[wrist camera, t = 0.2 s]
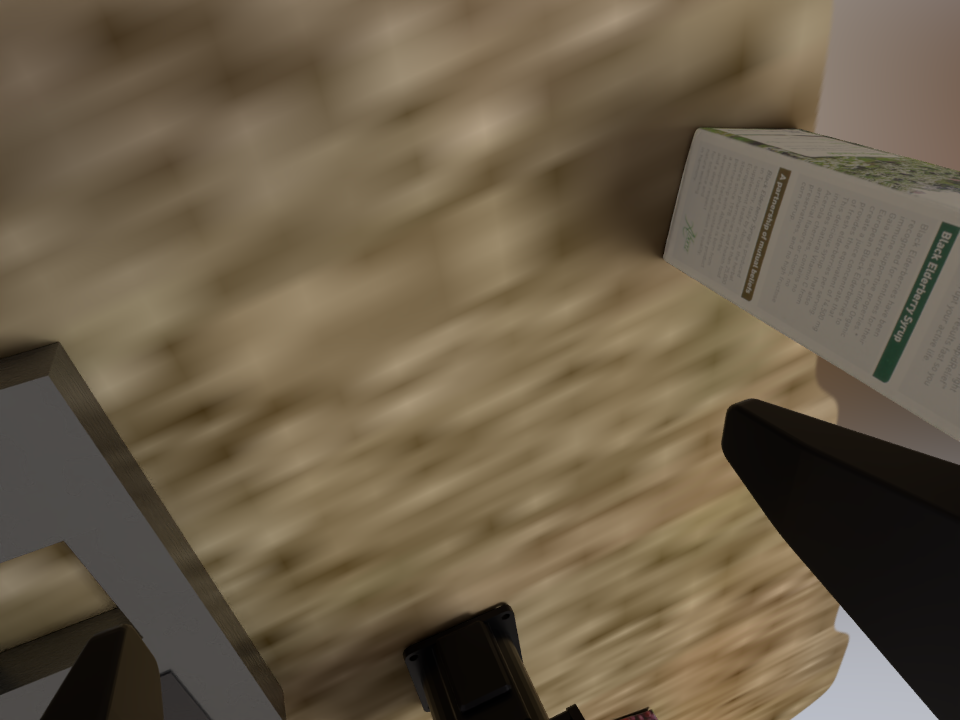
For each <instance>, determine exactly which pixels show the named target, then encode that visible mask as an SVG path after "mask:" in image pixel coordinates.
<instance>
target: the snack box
mask: <svg viewBox="0 0 960 720" xmlns="http://www.w3.org/2000/svg"><path fill="white" fill-rule="evenodd" d="M620 720H658V719H657V717H656V716H655V714H654V712H653V710H652V709H651V710H649V711H646V712H643V713H639V714H636V715H632V716H629V717H626V718H623V719H620Z"/></svg>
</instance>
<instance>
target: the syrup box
mask: <svg viewBox="0 0 960 720" xmlns="http://www.w3.org/2000/svg"><path fill="white" fill-rule="evenodd" d="M663 259H664V260H665V261H666V262H667V263H669V264H671V265H672V266H674V267H676V268H677V269H679V270H680V271H682V272H684V273H685V274H687V275H688V276H690V277H692V278H693V279H695V280H697V281H698V282H700V283H701V284H703V285H705V286H706V287H708V288H709V289H711V290H712V291H714V292H716V293H717V294H719V295H720V296H722V297H724V298H725V299H727V300H729V301H730V302H732V303H733V304H735V305H737V306H739V307H740V308H742V309H743V310H745V311H746V312H748V313H750V314H751V315H753V316H754V317H756V318H758V319H759V320H761V321H763V322H764V323H766V324H768V325H769V326H771V327H773V328H774V329H776V330H777V331H779V332H781V333H782V334H784V335H786V336H787V337H789V338H791V339H792V340H794V341H796V342H797V343H799V344H800V345H802V346H804V347H805V348H807V349H809V350H810V351H812V352H814V353H815V354H817V355H819V356H820V357H822V358H823V359H825V360H827V361H828V362H830V363H832V364H833V365H835V366H837V367H838V368H840V369H842V370H844V371H845V372H847V373H848V374H850V375H852V376H853V377H855V378H856V379H858V380H860V381H861V382H863V383H865V384H866V385H868V386H869V387H871V388H873V389H874V390H876V391H877V392H879V393H881V394H882V395H884V396H885V397H887V398H889V399H891V400H892V401H894V402H895V403H897V404H899V405H900V406H902V407H904V408H905V409H907V410H909V411H910V412H912V413H913V414H915V415H917V416H918V417H920V418H921V419H923V420H925V421H926V422H928V423H930V424H931V425H933V426H934V427H936V428H938V429H939V430H941V431H942V432H944V433H946V434H948V435H949V436H951V437H952V438H954V439H956V440H957V441H959V442H960V171H956V170H952V169H949V168H945V167H941V166H938V165H934V164H930V163H927V162H923V161H919V160H916V159H911V158H907V157H903V156H900V155H896V154H893V153H889V152H885V151H881V150H877V149H874V148H870V147H867V146H863V145H859V144H856V143H851V142H847V141H843V140H839V139H836V138H832V137H828V136H824V135H820V134H816V133H812V132H809V131H805V130H802V129H746V128H702V127H701V128H698V129H697V130H696V131H695V134H694V137H693V140H692V143H691V147H690V150H689V154H688V157H687V161H686V164H685V168H684V172H683V176H682V179H681V184H680V188H679V192H678V195H677V200H676V204H675V208H674V213H673V217H672V221H671V225H670V230H669V234H668V238H667V242H666V246H665V251H664V255H663Z"/></svg>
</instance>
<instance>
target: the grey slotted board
mask: <svg viewBox="0 0 960 720" xmlns="http://www.w3.org/2000/svg"><path fill="white" fill-rule="evenodd" d="M61 541H65V543H66V544H67V545H68V546H69V547H70V549H71V550H72V551H73V552H74V554H75V555H76V556H77V557H78V558H79V560H80V561H81V562H82V563H83V564H84V566H85V567H86V568H87V569H88V571H89V572H90V573H91V574H92V575H93V577H94V578H95V579H96V580H97V582H98V583H99V584H100V585H101V586H102V588H103V589H104V590H105V591H106V593H107V594H108V595H109V596H110V597H111V599H112V600H113V601H114V602H115V603H116V605H117V606H118V607H119V608H117V609H114V610H111V611H109V612H106V613H104V614H101V615H98V616H96V617H93V618H91V619H88V620H86V621H83V622H80V623H78V624H75V625H73V626H70V627H67V628H65V629H62V630H60V631H57V632H54V633H52V634H49V635H47V636H44V637H41V638H39V639H36V640H34V641H31V642H29V643H26V644H23V645H21V646H18V647H16V648H13V649H10V650H8V651H5V652H3V653H0V720H40V718H41V716H42V715H43V713H44V712H45V710H46V708H47V707H48V705H49V703H50V702H51V700H52V699H53V697H54V695H55V694H56V692H57V690H58V689H59V687H60V686H61V684H62V682H63V681H64V679H65V677H66V676H67V674H68V673H69V671H70V669H71V668H72V666H73V664H74V663H75V661H76V659H77V658H78V656H79V655H80V653H81V651H82V650H83V648H84V646H85V645H86V643H87V642H88V640H89V639H90V638H91V637H92V636H94V635H95V634H97V633H99V632H102V631H105V630H107V629H110V628H113V627H116V626H119V625H121V624H129V625H131V626H132V627H133V628H134V629H135V630H136V632H137V633H138V635H139V636H140V637H141V639H142V640H143V642H144V643H145V644H146V646H147V647H148V649H149V650H150V652H151V653H152V654H153V656H154V657H155V659H156V662H157V665H158V668H159V673H160V681H161V692H162V703H163V714H164V720H286V713H285V705H284V697H283V690H282V688H281V687H280V685H279V684H278V682H277V681H276V679H275V678H274V676H273V674H272V673H271V671H270V670H269V668H268V667H267V665H266V664H265V662H264V660H263V659H262V657H261V656H260V654H259V653H258V651H257V650H256V648H255V646H254V645H253V643H252V642H251V640H250V639H249V637H248V635H247V634H246V632H245V631H244V629H243V628H242V626H241V625H240V623H239V621H238V620H237V618H236V617H235V615H234V614H233V612H232V611H231V609H230V607H229V606H228V604H227V603H226V601H225V600H224V598H223V597H222V595H221V593H220V592H219V590H218V589H217V587H216V586H215V584H214V582H213V581H212V579H211V578H210V576H209V575H208V573H207V572H206V570H205V568H204V567H203V565H202V564H201V562H200V561H199V559H198V558H197V556H196V554H195V553H194V551H193V550H192V548H191V547H190V545H189V544H188V542H187V540H186V539H185V537H184V536H183V534H182V533H181V531H180V529H179V528H178V526H177V525H176V523H175V522H174V520H173V519H172V517H171V515H170V514H169V512H168V511H167V509H166V508H165V506H164V505H163V503H162V501H161V500H160V498H159V497H158V495H157V494H156V492H155V491H154V489H153V487H152V486H151V484H150V483H149V481H148V480H147V478H146V476H145V475H144V473H143V472H142V470H141V469H140V467H139V466H138V464H137V462H136V461H135V459H134V458H133V456H132V455H131V453H130V452H129V450H128V448H127V447H126V445H125V444H124V442H123V441H122V439H121V438H120V436H119V434H118V433H117V431H116V430H115V428H114V427H113V425H112V423H111V422H110V420H109V419H108V417H107V416H106V414H105V413H104V411H103V409H102V408H101V406H100V405H99V403H98V402H97V400H96V399H95V397H94V395H93V394H92V392H91V391H90V389H89V388H88V386H87V384H86V383H85V381H84V380H83V378H82V377H81V375H80V374H79V372H78V370H77V369H76V367H75V366H74V364H73V363H72V361H71V360H70V358H69V356H68V355H67V353H66V352H65V350H64V349H63V347H62V346H61V344H60V342H58V343H55V344H51V345H48V346H44V347H41V348H37V349H34V350H31V351H27V352H24V353H20V354H17V355H13V356H10V357H6V358H3V359H0V563H2V562H5V561H8V560H10V559H13V558H16V557H19V556H22V555H24V554H27V553H30V552H33V551H36V550H38V549H41V548H44V547H47V546H50V545H52V544H55V543H58V542H61Z"/></svg>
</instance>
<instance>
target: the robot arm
mask: <svg viewBox="0 0 960 720" xmlns="http://www.w3.org/2000/svg"><path fill="white" fill-rule="evenodd" d="M721 445H722V450H723V453H724V455H725V457H726V459H727V460H728V462H729V463H730V465H731V466H732V467H733V469H734V470H735V472H736V473H737V475H738V476H739V477H740V479H741V480H742V482H743V483H744V485H745V486H746V487H747V489H748V490H749V492H750V493H751V495H752V496H753V497H754V499H755V500H756V502H757V503H758V505H759V506H760V507H761V509H762V510H763V512H764V513H765V515H766V516H767V517H768V519H769V520H770V522H771V523H772V524H773V526H774V527H775V528H776V530H777V531H778V532H779V534H780V535H781V536H782V537H783V539H784V540H785V541H786V542H787V543H788V545H789V546H790V547H791V548H792V549H793V551H794V552H795V553H796V554H797V555H798V556H799V558H800V559H801V560H802V561H803V562H804V563H805V565H806V566H807V567H808V568H809V569H810V570H811V572H812V573H813V574H814V575H815V576H816V577H817V579H818V580H819V581H820V582H821V583H822V584H823V586H824V587H825V588H826V589H827V590H828V591H829V593H830V594H831V595H832V596H833V597H834V598H835V600H836V601H837V602H838V603H839V604H840V605H841V606H842V608H843V609H844V610H845V611H846V612H847V613H848V615H849V616H850V617H851V618H852V619H853V620H854V622H855V623H856V624H857V625H858V626H859V627H860V629H861V630H862V631H863V632H864V633H865V634H866V635H867V637H868V638H869V639H870V640H871V641H872V643H873V644H874V645H875V646H876V647H877V648H878V650H879V651H880V652H881V653H882V654H883V655H884V656H885V658H886V659H887V660H888V661H889V662H890V664H891V665H892V666H893V667H894V668H895V669H896V671H897V672H898V673H899V674H900V675H901V676H902V678H903V679H904V680H905V681H906V682H907V683H908V684H909V686H910V687H911V688H912V689H913V690H914V692H915V693H916V694H917V695H918V696H919V697H920V698H921V700H922V701H923V702H924V703H925V704H926V705H927V707H928V708H929V709H930V710H931V711H932V712H933V714H934V715H935V716H936V717H937V718H938V719H939V720H960V465H958V464H955V463H952V462H948V461H945V460H942V459H939V458H936V457H933V456H930V455H927V454H924V453H921V452H918V451H915V450H912V449H908V448H905V447H903V446H899V445H896V444H893V443H890V442H887V441H884V440H881V439H878V438H875V437H872V436H869V435H866V434H863V433H859V432H856V431H853V430H850V429H847V428H844V427H841V426H838V425H835V424H832V423H829V422H826V421H823V420H820V419H817V418H813V417H810V416H807V415H804V414H801V413H798V412H795V411H792V410H789V409H786V408H783V407H780V406H777V405H774V404H770V403H767V402H764V401H761V400H758V399H746V400H744V401H741V402H738V403H735V404H733V405H731V406H730V407H729V408H728V409H727V412H726V417H725V423H724V429H723V435H722V441H721ZM403 656H404V660H405V663H406V665H407V668H408V670H409V673H410V675H411V678H412V681H413V683H414V686H415V688H416V691H417V693H418V696H419V698H420V701H421V703H422V706H423V709H424V711H426V712H431V715H432V718H433V720H585V719H584V717H583V715H582V714H581V712H580V710H579V709H578V707H577V705H576V704H574V705H572V706H570V707H568V708H566V711H564V712H562V713H560V714H558V715H556V716H554V717H552V718H550V719H549V718H548V716H547V713H546V711H545V709H544V707H543V705H542V703H541V701H540V699H539V696H538V694H537V692H536V690H535V688H534V686H533V684H532V682H531V680H530V677H529V675H528V673H527V671H526V669H525V667H524V665H523V660H522V655H521V649H520V644H519V639H518V633H517V628H516V622H515V617H514V612H513V610H512V608H511V607H510V606H509V605H503V606H501V607H499V608H496V609H494V610H492V611H489V612H487V613H485V614H483V615H480V616H478V617H476V618H474V619H471V620H469V621H467V622H465V623H462V624H460V625H458V626H456V627H453V628H451V629H449V630H447V631H444V632H442V633H440V634H438V635H435V636H433V637H431V638H429V639H426V640H424V641H422V642H419V643H417V644H415V645H413V646H410V647H409V648H407V649H406V650H405V651H404V653H403ZM40 720H164V714H163V703H162V692H161V681H160V673H159V668H158V665H157V662H156V659H155V657H154V656H153V654H152V653H151V652H150V650H149V649H148V647H147V646H146V644H145V643H144V642H143V640H142V639H141V637H140V636H139V635H138V633H137V632H136V630H135V629H134V628H133V627H132V626H131V625H129V624H121V625H119V626H116V627H113V628H110V629H107V630H105V631H102V632H99V633H97V634H95V635H94V636H92V637H91V638H90V639H89V640H88V642H87V643H86V645H85V646H84V648H83V650H82V651H81V653H80V655H79V656H78V658H77V659H76V661H75V663H74V664H73V666H72V668H71V669H70V671H69V673H68V674H67V676H66V677H65V679H64V681H63V682H62V684H61V686H60V687H59V689H58V690H57V692H56V694H55V695H54V697H53V699H52V700H51V702H50V703H49V705H48V707H47V708H46V710H45V712H44V713H43V715H42V716H41V718H40Z"/></svg>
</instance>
